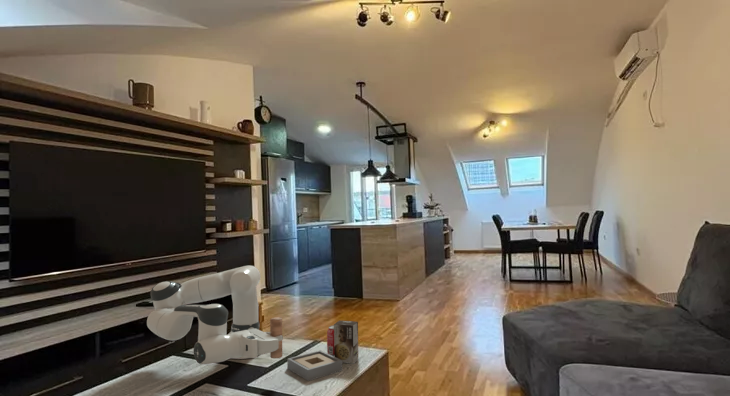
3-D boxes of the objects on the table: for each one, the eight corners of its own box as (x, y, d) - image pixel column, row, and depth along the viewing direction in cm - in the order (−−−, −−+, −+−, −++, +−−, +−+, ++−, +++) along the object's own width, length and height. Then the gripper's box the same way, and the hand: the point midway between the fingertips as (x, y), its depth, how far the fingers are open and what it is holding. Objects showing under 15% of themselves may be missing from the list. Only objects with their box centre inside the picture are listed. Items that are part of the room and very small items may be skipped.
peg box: (287, 368, 165) (287, 358, 166) (320, 359, 175) (320, 350, 176) (307, 380, 153) (307, 370, 153) (342, 370, 163) (342, 360, 163)
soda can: (343, 351, 186) (343, 325, 186) (341, 356, 179) (341, 329, 179) (328, 351, 187) (328, 324, 187) (325, 356, 180) (325, 328, 180)
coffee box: (358, 359, 176) (358, 321, 177) (353, 364, 170) (353, 325, 170) (339, 356, 179) (339, 319, 180) (333, 361, 173) (333, 323, 173)
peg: (268, 356, 154) (268, 318, 154) (279, 353, 156) (278, 316, 157) (273, 359, 150) (273, 321, 151) (284, 356, 153) (284, 319, 154)
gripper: (232, 345, 153) (266, 337, 162) (255, 359, 138) (291, 350, 146) (232, 328, 154) (266, 321, 162) (255, 340, 138) (291, 332, 146)
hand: (278, 335), depth 154 cm, fingers closed on peg, 4 cm apart
